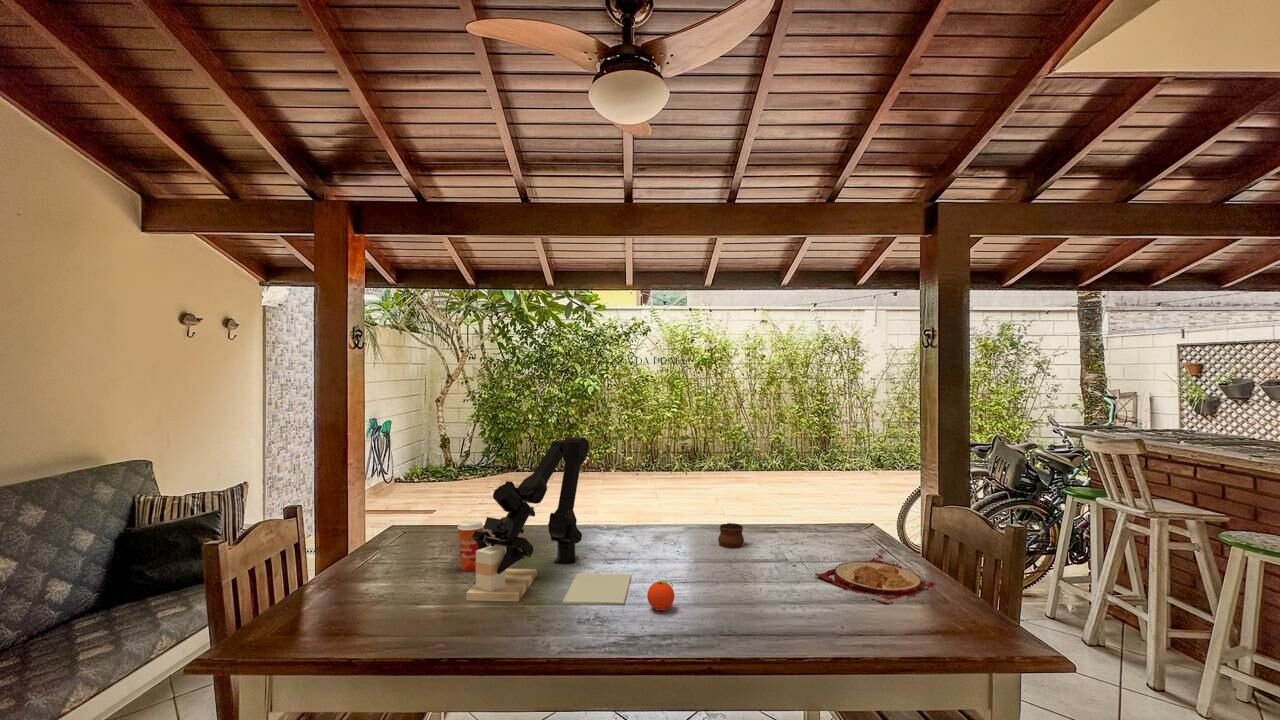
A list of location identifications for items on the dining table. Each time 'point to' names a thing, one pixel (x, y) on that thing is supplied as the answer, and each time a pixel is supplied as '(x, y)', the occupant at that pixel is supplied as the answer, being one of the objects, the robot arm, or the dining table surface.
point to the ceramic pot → (731, 535)
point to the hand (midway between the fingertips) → (487, 571)
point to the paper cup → (468, 543)
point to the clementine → (660, 595)
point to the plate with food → (876, 579)
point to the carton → (489, 568)
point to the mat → (598, 589)
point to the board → (506, 587)
